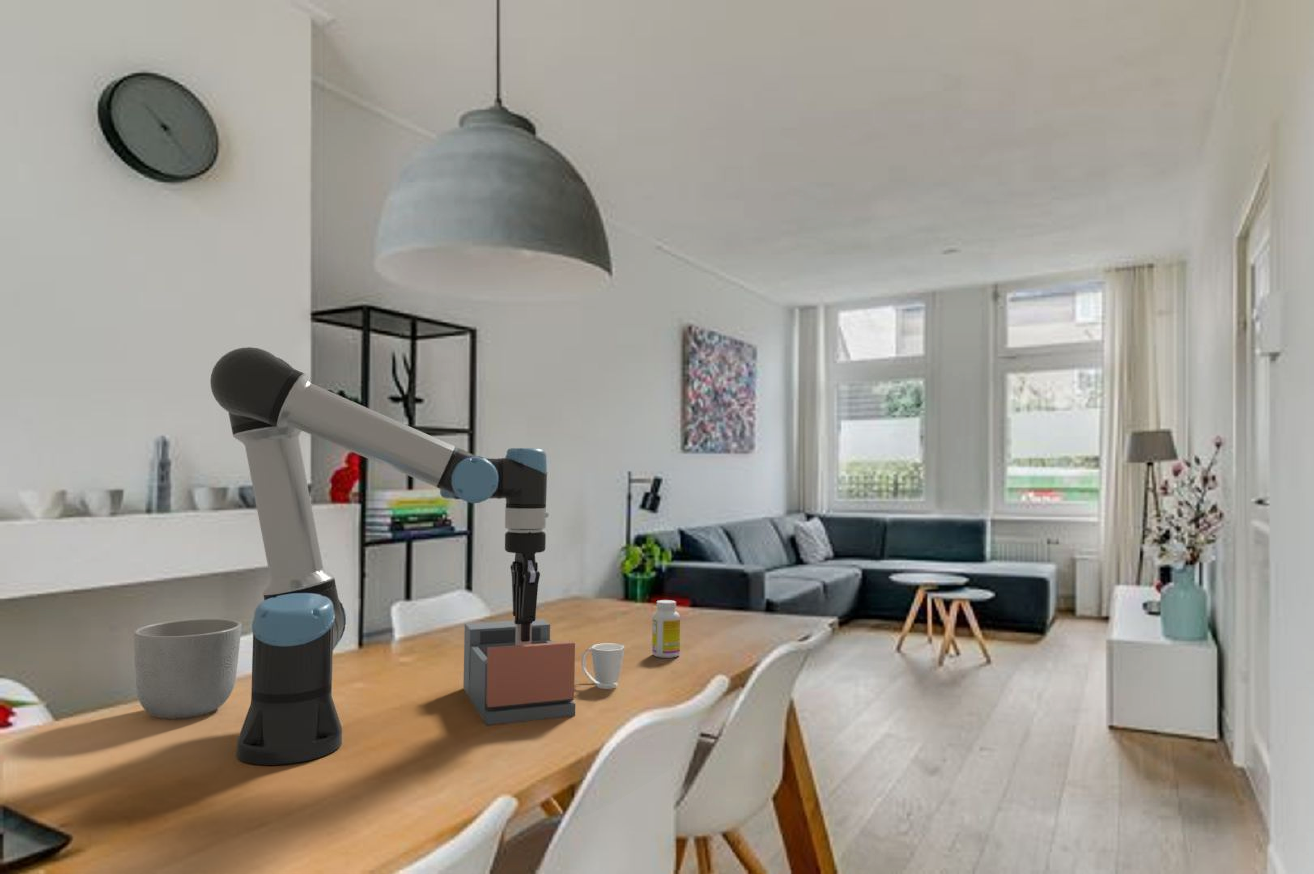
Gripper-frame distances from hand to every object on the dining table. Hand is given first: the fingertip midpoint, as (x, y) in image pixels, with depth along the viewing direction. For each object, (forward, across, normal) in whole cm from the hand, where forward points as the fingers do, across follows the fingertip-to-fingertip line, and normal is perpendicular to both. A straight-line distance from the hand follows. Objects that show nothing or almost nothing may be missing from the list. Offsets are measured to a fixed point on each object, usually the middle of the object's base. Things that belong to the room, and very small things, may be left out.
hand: (523, 657), depth 151 cm
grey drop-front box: (+9, +2, 0) cm, 10 cm away
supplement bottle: (+10, +30, -42) cm, 53 cm away
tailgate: (+6, -6, 0) cm, 9 cm away
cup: (+10, +10, -19) cm, 24 cm away
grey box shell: (+9, +14, 0) cm, 17 cm away
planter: (+10, +19, +57) cm, 61 cm away
